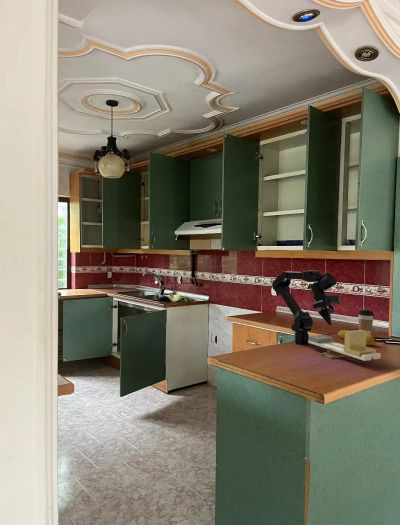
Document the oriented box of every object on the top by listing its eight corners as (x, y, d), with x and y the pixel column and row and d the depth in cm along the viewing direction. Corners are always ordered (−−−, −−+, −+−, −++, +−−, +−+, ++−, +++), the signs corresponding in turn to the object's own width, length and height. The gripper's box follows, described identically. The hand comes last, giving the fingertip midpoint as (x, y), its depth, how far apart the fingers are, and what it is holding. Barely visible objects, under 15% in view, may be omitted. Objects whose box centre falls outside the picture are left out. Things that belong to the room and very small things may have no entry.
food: (375, 346, 197) (376, 334, 196) (368, 347, 194) (369, 335, 193) (340, 337, 215) (341, 326, 214) (334, 338, 212) (334, 327, 211)
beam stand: (320, 355, 173) (320, 347, 173) (345, 352, 181) (345, 344, 181) (330, 358, 168) (331, 351, 168) (355, 355, 176) (356, 347, 176)
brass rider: (343, 353, 166) (345, 331, 165) (359, 351, 170) (360, 329, 170) (359, 358, 159) (360, 335, 158) (375, 356, 163) (376, 333, 163)
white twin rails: (308, 342, 184) (308, 336, 184) (323, 340, 189) (323, 334, 189) (364, 360, 156) (364, 353, 156) (380, 358, 161) (380, 351, 161)
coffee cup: (356, 336, 217) (357, 310, 217) (357, 333, 225) (358, 308, 224) (372, 338, 213) (373, 311, 213) (373, 335, 221) (374, 310, 220)
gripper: (330, 284, 175) (343, 316, 168) (339, 292, 190) (351, 322, 183) (307, 292, 179) (318, 324, 173) (318, 299, 194) (328, 329, 188)
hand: (330, 324), depth 179 cm, fingers closed
